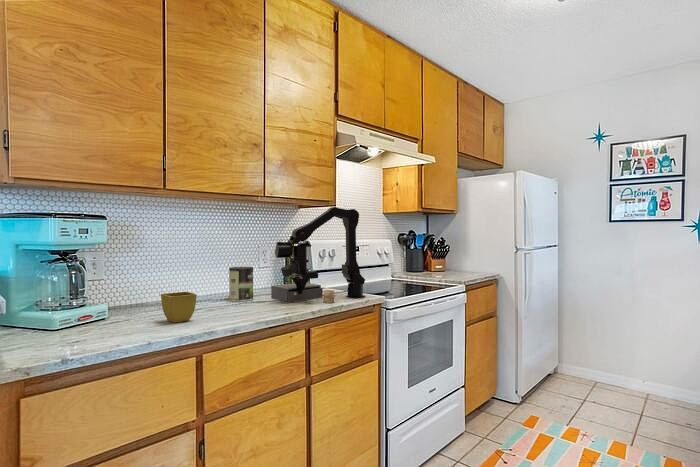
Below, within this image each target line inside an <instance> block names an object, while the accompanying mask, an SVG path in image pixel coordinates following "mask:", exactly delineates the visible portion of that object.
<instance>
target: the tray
mask: <svg viewBox="0 0 700 467" xmlns="http://www.w3.org/2000/svg"><path fill="white" fill-rule="evenodd" d="M314 297H322V298H323V297H324V287H321V288H315V289H307V290H303V292H302V294H298V291H290V292H288V301H292V300H299V299H307V298H314Z"/></svg>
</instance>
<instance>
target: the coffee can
mask: <svg viewBox="0 0 700 467" xmlns="http://www.w3.org/2000/svg"><path fill="white" fill-rule="evenodd" d="M228 270H229V272H228V273H229V274H228V275H229V278H228V280H229V288H228V289H229V291H228V292H229V299H228V301H230V302H236V303H237V302H238V303H239V302H250V301H253V300H254V267H253V266H232V267H228Z"/></svg>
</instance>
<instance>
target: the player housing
mask: <svg viewBox="0 0 700 467" xmlns="http://www.w3.org/2000/svg"><path fill="white" fill-rule="evenodd" d="M315 288H322V285H321V284H317V283H311V282H307V284H306V286H305V288H304V290H307V289H315ZM270 291H271V297H270V298H271V299H274V300H279V301H282V302H283V301H284V302H287V303H292V302H298V301H300V302H301V301H306V300H313V299H315V300H316V299H321V298H323V296H322V297H314V298H307V299H299V300H292V301H288V292H290V291H298V290H297V287H296V284H295V282H294V283H285V284H278V285H277V284H275V285H271V286H270Z"/></svg>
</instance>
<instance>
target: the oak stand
mask: <svg viewBox="0 0 700 467" xmlns="http://www.w3.org/2000/svg"><path fill="white" fill-rule="evenodd" d="M323 303H324V304H334V303H335V290H333V289H327V290H326V289H324V290H323Z"/></svg>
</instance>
